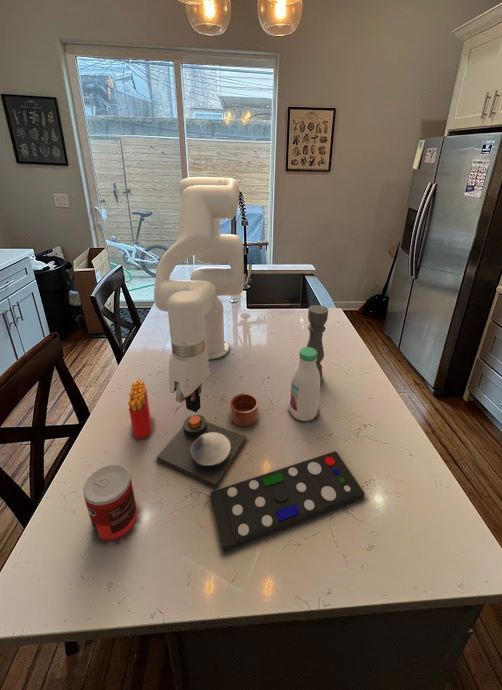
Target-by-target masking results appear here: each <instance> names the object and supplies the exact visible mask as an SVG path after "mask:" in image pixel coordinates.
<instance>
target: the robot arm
mask: <svg viewBox="0 0 502 690" xmlns="http://www.w3.org/2000/svg"><path fill="white" fill-rule="evenodd" d="M178 189H179V195H180V208H179V209H180V210H179V219H178V235H177V240H176V241H174V243H172V245H170V247H168V249H166V251H165V252H164V254H163V255H162V256H161V258H160V260H159V262H158V264H157V267H156V270H155V277H154V278H155V279H154V287H153V288H154V289H153V301H154V304H155V307H156V308H157V309H158V310H159V311H161V312H167V315H168V326H169V335H170V346H171V353H172V354H171V355H170V357H169V362H168V363H169V364H168V365H169V366H168V382H169V383H168V384H169V385H168V386H169V392H170V393H171V394H175V402H178V403H180V404H182V403H183V402H185V408H186V409H187V410H188V411H191V412H193V413H198V412H199V410H200V409H201V394H202V385H203V383H204V382H205V381H206V380H207V378H208V377H209V375H210V362H209V360H215V359H216V360H217V359H220V358H222V357H224V356H225V355H227V354H228V352H229V349H230V346H229V343H228V342H227V341H226V340H225V321H224V320H225V319H224V304H223V302H222V300H221V299H220V298H219V297H220V296H221V297H222V296H223V297H224V296H226V297H227V296H229V297H232V296H233V297H235V296H239V295H241V294H242V293H243V291H244V286H245V263H244V262H245V261H244V259H245V258H244V257H245V256H244V255H245V253H244V243H243V240H242V238H241V237H240V236H239V235H237V234H231V233H230V234H225V233H221V225H220V224H221V220H222V219H224V220H225V219H227V220H229V219H233V218H235V216H236V214H237V212H238V207H239V200H240V186H239V183H238V181H237V180H236V179H235V178H232V177H212V176H209V177H208V176H192V177H186V178H183V179H182V180H180V182H179V186H178ZM220 219H221V220H220ZM193 256H194V258H195V260H196V261H197V262H198V263H200V264H209V265H210V264H211V265H212V264H213V265H215V264H216V265H217V264H219V265H228V266H202V267H197V268H195V269H193V271H192V272H191V274H190V279H188V280H187V279H185V280H184V279H183V280H182V279H179V280H177V279H175V280H174V279H171V280H170V277H171V274H172V271H173V270H174V268H176V266H177V265H179V264H180V263H181V262H183V261H184V260H186V259H189V258H191V257H193Z"/></svg>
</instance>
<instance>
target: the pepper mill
mask: <svg viewBox="0 0 502 690" xmlns="http://www.w3.org/2000/svg"><path fill="white" fill-rule="evenodd" d="M328 318H329V309H328V307H326V306H324V305H320V304H313V305H310V306H309V307H308V312H307V319H308V322H309V324H308V326H307V329H308V331H309V338H308V341H307V344H306V347H310V348H313V349H315V350H316V351H317V361H316V366H317V368H318V371H319V373H320V384H321V383H322V379H323V366H322V364H321V363H322V362H323V361H324V357H325V351H324V345H323V335H324V334H323V333H325V331H326V326H325V325H326V323H327V322H328Z"/></svg>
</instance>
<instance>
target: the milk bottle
mask: <svg viewBox="0 0 502 690" xmlns="http://www.w3.org/2000/svg"><path fill="white" fill-rule="evenodd" d="M298 359H299V361H298V363H297V366H296V367H295V368H294V370H293V372H292V376H291V383H290V385H291V386H290V398H289V412H290V414H291V415H292V417H293V418H294V419H296V420H298V421H302V422H307V421H308V422H309V421H311V420H313V419H315V417H316V416H317V415H318V410H319V402H320V390H321V383H320V373H319V371H318V368H317V366H316V361H317V351H316V350H315V349H313V348H310V347H302V348H300V350H299V353H298Z"/></svg>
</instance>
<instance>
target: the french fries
mask: <svg viewBox="0 0 502 690" xmlns="http://www.w3.org/2000/svg"><path fill="white" fill-rule="evenodd" d="M146 388H147V387H146V383H145V382H144V381H141V380H140V379H139V378H137V379H136V380H135V382H134V381H133V382H132V383H131V387H130V392H129V393H128V396H129V399H128V400H127V403H128V407H129V408H128V411H129V417H130V422H131V427H132V432H133V437H135V438H136V439H144V438H147V437H148V436H149V435H150V434H151V433H152V419H151V414H150V413H151V412H150V406H149V397H148V391H147V389H146Z"/></svg>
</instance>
